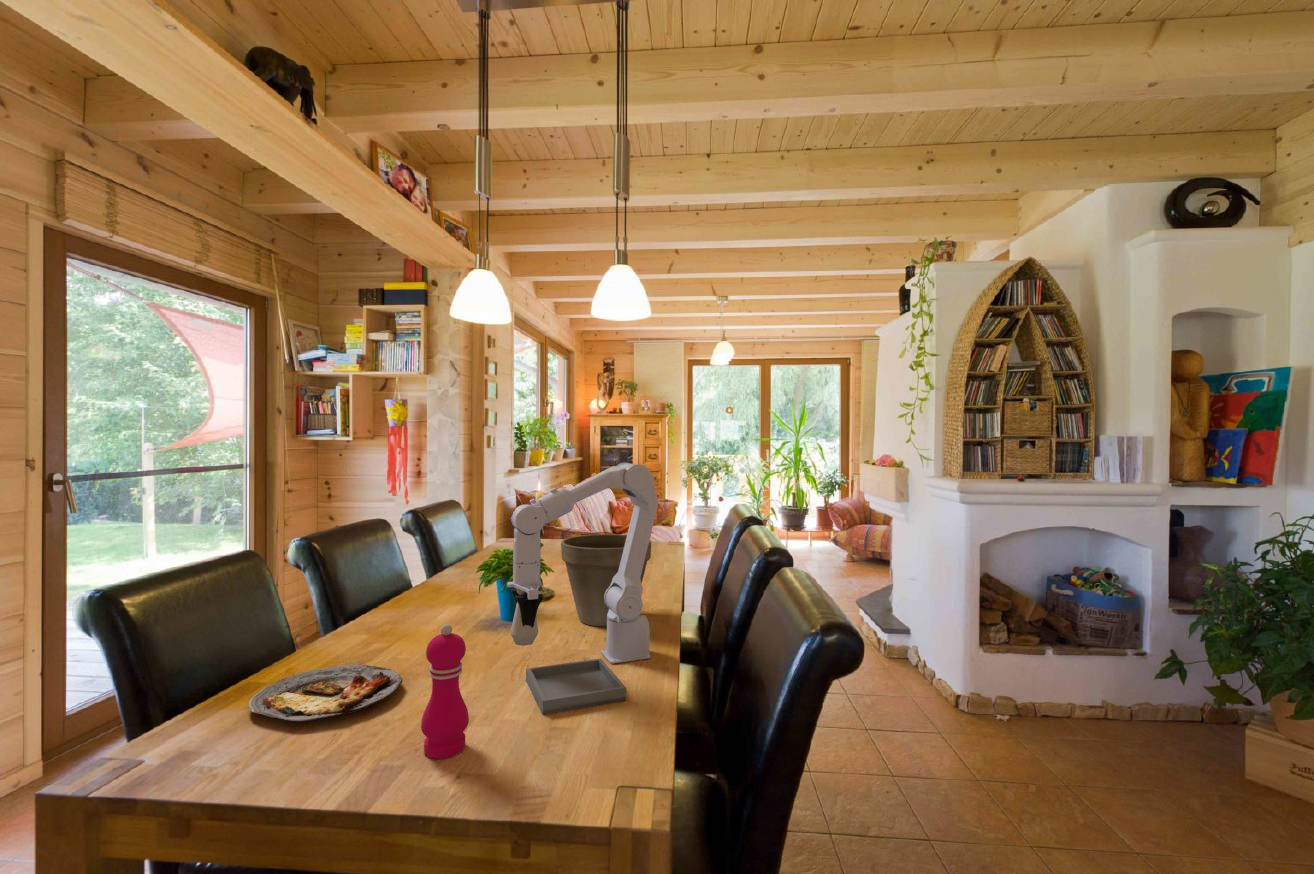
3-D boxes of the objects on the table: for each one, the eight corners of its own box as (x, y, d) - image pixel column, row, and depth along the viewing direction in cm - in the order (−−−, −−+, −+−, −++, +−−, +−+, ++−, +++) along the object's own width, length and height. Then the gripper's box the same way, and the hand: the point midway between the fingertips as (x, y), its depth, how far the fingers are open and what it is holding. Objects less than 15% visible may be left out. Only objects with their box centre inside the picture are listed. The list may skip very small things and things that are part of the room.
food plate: (426, 683, 121) (426, 666, 121) (329, 740, 99) (328, 719, 99) (330, 669, 129) (330, 653, 129) (221, 719, 107) (220, 699, 107)
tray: (600, 669, 130) (601, 658, 130) (626, 700, 115) (626, 687, 115) (525, 680, 123) (526, 668, 123) (542, 714, 109) (542, 700, 109)
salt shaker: (530, 648, 126) (533, 586, 126) (505, 645, 127) (508, 583, 127) (542, 639, 131) (544, 580, 131) (517, 636, 133) (520, 577, 133)
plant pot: (569, 604, 179) (570, 531, 179) (652, 606, 178) (653, 533, 178) (551, 632, 154) (552, 547, 154) (647, 634, 153) (648, 549, 153)
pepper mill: (428, 738, 100) (429, 617, 100) (472, 737, 101) (474, 617, 100) (414, 761, 93) (416, 632, 93) (462, 760, 93) (464, 631, 93)
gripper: (502, 555, 134) (502, 616, 135) (513, 569, 121) (513, 637, 121) (534, 553, 137) (533, 613, 137) (548, 567, 124) (547, 633, 124)
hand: (526, 624), depth 129 cm, fingers closed on salt shaker, 4 cm apart
